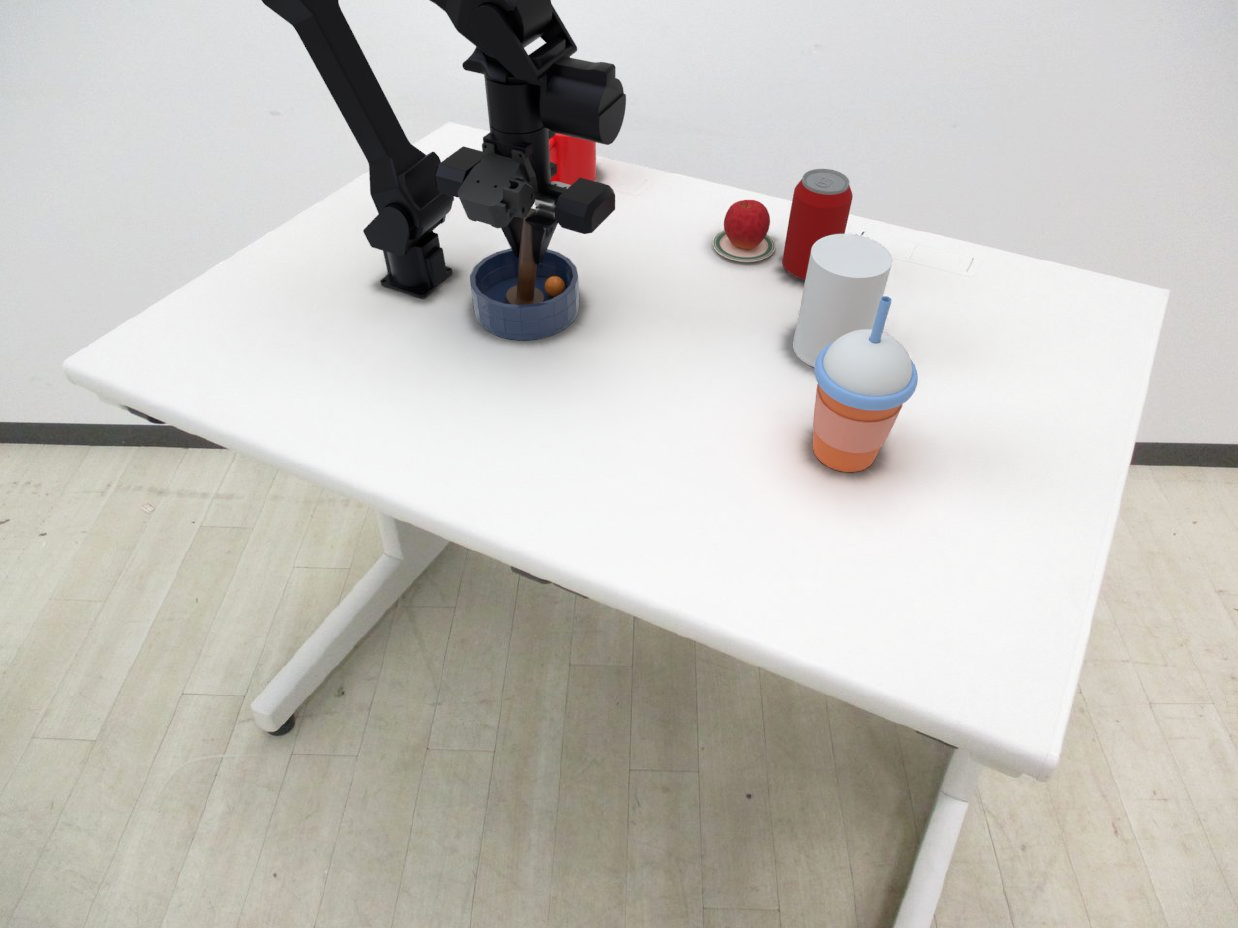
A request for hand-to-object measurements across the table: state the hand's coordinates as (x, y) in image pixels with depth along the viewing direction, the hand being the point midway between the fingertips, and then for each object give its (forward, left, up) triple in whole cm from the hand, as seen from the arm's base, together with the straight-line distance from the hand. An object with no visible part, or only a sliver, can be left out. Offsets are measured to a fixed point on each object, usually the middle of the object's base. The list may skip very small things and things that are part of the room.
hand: (529, 259), depth 94 cm
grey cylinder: (+33, +9, -8) cm, 35 cm away
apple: (+17, +24, -8) cm, 31 cm away
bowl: (-1, 0, -7) cm, 7 cm away
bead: (+1, +3, -5) cm, 6 cm away
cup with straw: (+39, -6, -8) cm, 40 cm away
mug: (-12, +28, -8) cm, 32 cm away
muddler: (-1, 0, -6) cm, 6 cm away
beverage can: (+26, +23, -8) cm, 36 cm away
